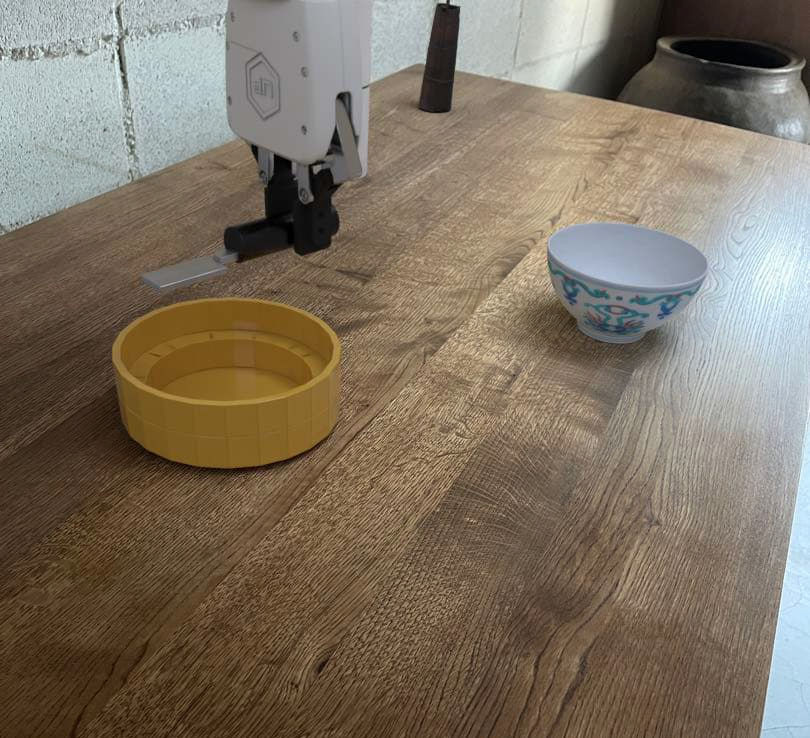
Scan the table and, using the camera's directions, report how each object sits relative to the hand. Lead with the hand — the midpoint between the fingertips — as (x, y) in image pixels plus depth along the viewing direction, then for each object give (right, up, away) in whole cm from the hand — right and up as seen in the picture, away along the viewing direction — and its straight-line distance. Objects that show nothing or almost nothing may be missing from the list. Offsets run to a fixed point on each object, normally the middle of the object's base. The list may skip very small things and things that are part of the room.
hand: (298, 241), depth 70 cm
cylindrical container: (0, +26, +51) cm, 57 cm away
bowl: (-6, -13, +4) cm, 14 cm away
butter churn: (+13, +46, +77) cm, 90 cm away
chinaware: (+28, -2, +21) cm, 35 cm away
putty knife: (-4, -2, -3) cm, 5 cm away
